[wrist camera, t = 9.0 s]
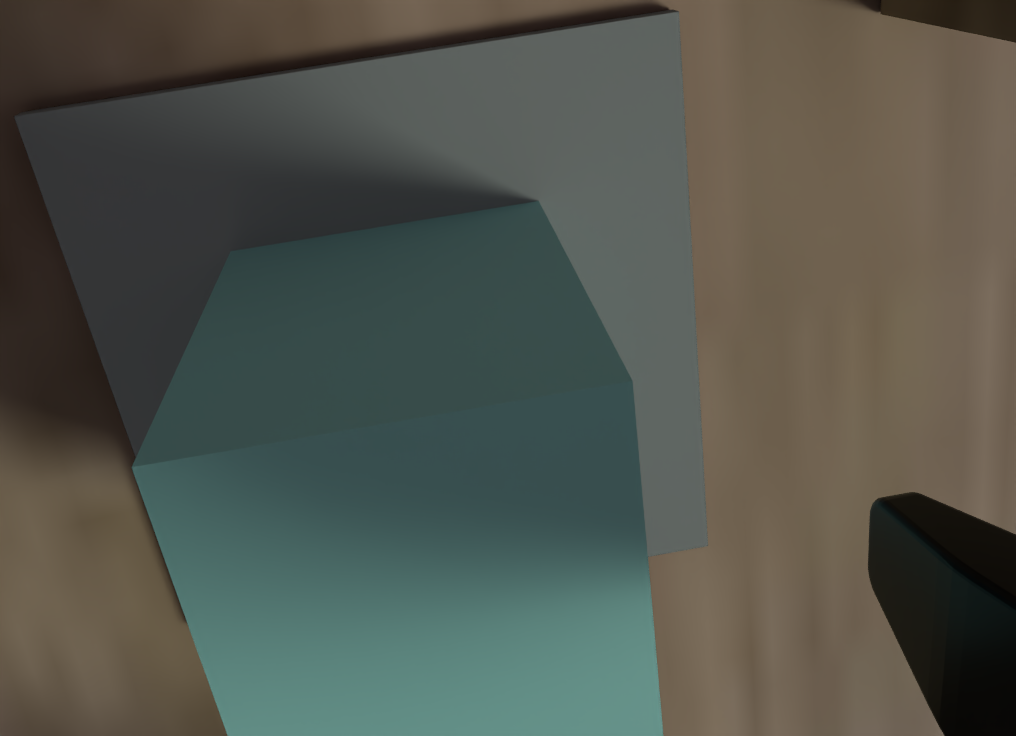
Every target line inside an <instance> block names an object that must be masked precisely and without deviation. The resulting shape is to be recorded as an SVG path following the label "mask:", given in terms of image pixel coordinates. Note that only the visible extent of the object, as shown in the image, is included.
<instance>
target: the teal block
mask: <svg viewBox="0 0 1016 736" xmlns="http://www.w3.org/2000/svg"><path fill="white" fill-rule="evenodd" d="M132 470H133V473H134V476H135V479H136V481H137V484H138V487H139V490H140V493H141V495H142V498H143V501H144V504H145V506H146V509H147V512H148V515H149V518H150V520H151V523H152V526H153V529H154V532H155V534H156V537H157V540H158V543H159V545H160V548H161V551H162V554H163V557H164V559H165V562H166V565H167V568H168V571H169V573H170V576H171V579H172V582H173V585H174V587H175V590H176V593H177V596H178V598H179V601H180V604H181V607H182V610H183V612H184V615H185V618H186V621H187V624H188V626H189V629H190V632H191V635H192V637H193V640H194V643H195V646H196V649H197V651H198V654H199V657H200V660H201V663H202V665H203V668H204V671H205V674H206V676H207V679H208V682H209V685H210V688H211V690H212V693H213V696H214V699H215V702H216V704H217V707H218V710H219V713H220V715H221V718H222V721H223V724H224V727H225V729H226V732H227V735H228V736H663V727H662V715H661V703H660V692H659V680H658V669H657V657H656V646H655V634H654V623H653V611H652V600H651V588H650V577H649V565H648V553H647V542H646V530H645V519H644V507H643V496H642V484H641V473H640V461H639V450H638V438H637V426H636V415H635V403H634V392H633V381H632V379H631V377H630V375H629V373H628V371H627V369H626V367H625V365H624V364H623V362H622V360H621V358H620V356H619V354H618V352H617V350H616V348H615V346H614V344H613V342H612V341H611V339H610V337H609V335H608V333H607V331H606V329H605V327H604V325H603V323H602V321H601V319H600V318H599V316H598V314H597V312H596V310H595V308H594V306H593V304H592V302H591V300H590V298H589V296H588V294H587V293H586V291H585V289H584V287H583V285H582V283H581V281H580V279H579V277H578V275H577V273H576V271H575V270H574V268H573V266H572V264H571V262H570V260H569V258H568V256H567V254H566V252H565V250H564V248H563V247H562V245H561V243H560V241H559V239H558V237H557V235H556V233H555V231H554V229H553V227H552V225H551V223H550V222H549V220H548V218H547V216H546V214H545V212H544V210H543V208H542V206H541V204H540V202H539V201H535V202H529V203H523V204H517V205H511V206H504V207H498V208H492V209H486V210H480V211H474V212H468V213H462V214H456V215H449V216H443V217H437V218H431V219H425V220H419V221H413V222H407V223H401V224H394V225H388V226H382V227H376V228H370V229H364V230H358V231H352V232H346V233H339V234H333V235H327V236H321V237H315V238H309V239H303V240H297V241H291V242H284V243H278V244H272V245H266V246H260V247H254V248H248V249H242V250H236V251H231V252H230V254H229V256H228V258H227V260H226V262H225V265H224V267H223V269H222V271H221V273H220V276H219V278H218V280H217V282H216V284H215V286H214V289H213V291H212V293H211V295H210V297H209V300H208V302H207V304H206V306H205V308H204V310H203V313H202V315H201V317H200V319H199V321H198V324H197V326H196V328H195V330H194V332H193V334H192V337H191V339H190V341H189V343H188V345H187V347H186V350H185V352H184V354H183V356H182V358H181V361H180V363H179V365H178V367H177V369H176V371H175V374H174V376H173V378H172V380H171V382H170V385H169V387H168V389H167V391H166V393H165V395H164V398H163V400H162V402H161V404H160V406H159V409H158V411H157V413H156V415H155V417H154V419H153V422H152V424H151V426H150V428H149V430H148V432H147V435H146V437H145V439H144V441H143V443H142V446H141V448H140V450H139V452H138V454H137V456H136V459H135V461H134V463H133V465H132Z"/></svg>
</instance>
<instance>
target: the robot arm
mask: <svg viewBox="0 0 1016 736" xmlns="http://www.w3.org/2000/svg"><path fill="white" fill-rule="evenodd" d="M868 571H869V578H870V582H871V585H872V588H873V591H874V593H875V595H876V597H877V599H878V601H879V603H880V605H881V608H882V610H883V612H884V614H885V616H886V618H887V620H888V622H889V624H890V626H891V628H892V631H893V633H894V635H895V637H896V639H897V641H898V643H899V645H900V647H901V649H902V651H903V654H904V656H905V658H906V660H907V662H908V664H909V666H910V668H911V670H912V672H913V674H914V677H915V679H916V681H917V683H918V685H919V687H920V689H921V691H922V693H923V695H924V697H925V699H926V702H927V704H928V706H929V708H930V710H931V711H932V713H933V715H934V717H935V719H936V721H937V723H938V725H939V727H940V729H941V730H942V732H943V734H944V735H945V736H1016V534H1013V533H1011V532H1009V531H1006V530H1004V529H1002V528H999V527H997V526H995V525H992V524H990V523H988V522H985V521H983V520H981V519H978V518H976V517H974V516H971V515H969V514H967V513H964V512H962V511H960V510H957V509H955V508H953V507H950V506H948V505H946V504H943V503H941V502H939V501H936V500H934V499H932V498H929V497H927V496H925V495H922V494H919V493H915V492H909V493H903V494H898V495H892V496H887V497H881V498H878V499H877V500H876V501H875V502H874V503H873V504H872V507H871V510H870V526H869V552H868Z"/></svg>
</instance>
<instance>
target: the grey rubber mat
mask: <svg viewBox="0 0 1016 736" xmlns="http://www.w3.org/2000/svg"><path fill="white" fill-rule="evenodd" d="M14 118H15V121H16V123H17V126H18V129H19V132H20V135H21V138H22V140H23V143H24V146H25V149H26V152H27V154H28V157H29V160H30V163H31V166H32V168H33V171H34V174H35V177H36V180H37V182H38V185H39V188H40V191H41V194H42V196H43V199H44V202H45V205H46V208H47V210H48V213H49V216H50V219H51V222H52V224H53V227H54V230H55V233H56V236H57V238H58V241H59V244H60V247H61V250H62V252H63V255H64V258H65V261H66V264H67V266H68V269H69V272H70V275H71V278H72V280H73V283H74V286H75V289H76V292H77V294H78V297H79V300H80V303H81V306H82V308H83V311H84V314H85V317H86V320H87V322H88V325H89V328H90V331H91V334H92V337H93V339H94V342H95V345H96V348H97V351H98V353H99V356H100V359H101V362H102V365H103V367H104V370H105V373H106V376H107V379H108V381H109V384H110V387H111V390H112V393H113V395H114V398H115V401H116V404H117V407H118V409H119V412H120V415H121V418H122V421H123V423H124V426H125V429H126V432H127V435H128V437H129V440H130V443H131V446H132V449H133V451H134V454H135V457H136V456H137V454H138V452H139V450H140V448H141V446H142V443H143V441H144V439H145V437H146V435H147V432H148V430H149V428H150V426H151V424H152V422H153V419H154V417H155V415H156V413H157V411H158V409H159V406H160V404H161V402H162V400H163V398H164V395H165V393H166V391H167V389H168V387H169V385H170V382H171V380H172V378H173V376H174V374H175V371H176V369H177V367H178V365H179V363H180V361H181V358H182V356H183V354H184V352H185V350H186V347H187V345H188V343H189V341H190V339H191V337H192V334H193V332H194V330H195V328H196V326H197V324H198V321H199V319H200V317H201V315H202V313H203V310H204V308H205V306H206V304H207V302H208V300H209V297H210V295H211V293H212V291H213V289H214V286H215V284H216V282H217V280H218V278H219V276H220V273H221V271H222V269H223V267H224V265H225V262H226V260H227V258H228V256H229V254H230V252H231V251H236V250H242V249H248V248H254V247H260V246H266V245H272V244H278V243H284V242H291V241H297V240H303V239H309V238H315V237H321V236H327V235H333V234H339V233H346V232H352V231H358V230H364V229H370V228H376V227H382V226H388V225H394V224H401V223H407V222H413V221H419V220H425V219H431V218H437V217H443V216H449V215H456V214H462V213H468V212H474V211H480V210H486V209H492V208H498V207H504V206H511V205H517V204H523V203H529V202H535V201H539V202H540V204H541V206H542V208H543V210H544V212H545V214H546V216H547V218H548V220H549V222H550V223H551V225H552V227H553V229H554V231H555V233H556V235H557V237H558V239H559V241H560V243H561V245H562V247H563V248H564V250H565V252H566V254H567V256H568V258H569V260H570V262H571V264H572V266H573V268H574V270H575V271H576V273H577V275H578V277H579V279H580V281H581V283H582V285H583V287H584V289H585V291H586V293H587V294H588V296H589V298H590V300H591V302H592V304H593V306H594V308H595V310H596V312H597V314H598V316H599V318H600V319H601V321H602V323H603V325H604V327H605V329H606V331H607V333H608V335H609V337H610V339H611V341H612V342H613V344H614V346H615V348H616V350H617V352H618V354H619V356H620V358H621V360H622V362H623V364H624V365H625V367H626V369H627V371H628V373H629V375H630V377H631V379H632V381H633V392H634V403H635V415H636V426H637V438H638V450H639V461H640V473H641V484H642V496H643V507H644V519H645V530H646V542H647V553H648V557H649V556H655V555H660V554H666V553H671V552H677V551H682V550H688V549H693V548H699V547H704V546H708V539H707V520H706V502H705V483H704V465H703V447H702V428H701V410H700V392H699V373H698V355H697V336H696V318H695V300H694V281H693V263H692V245H691V226H690V208H689V189H688V171H687V153H686V134H685V116H684V98H683V79H682V61H681V42H680V24H679V11H676V10H667V11H661V12H654V13H648V14H642V15H635V16H629V17H623V18H616V19H610V20H604V21H597V22H591V23H585V24H578V25H572V26H565V27H559V28H553V29H546V30H540V31H534V32H527V33H521V34H515V35H508V36H502V37H496V38H489V39H483V40H477V41H470V42H464V43H458V44H451V45H445V46H439V47H432V48H426V49H420V50H413V51H407V52H400V53H394V54H388V55H381V56H375V57H369V58H362V59H356V60H350V61H343V62H337V63H331V64H324V65H318V66H312V67H305V68H299V69H293V70H286V71H280V72H274V73H267V74H261V75H255V76H248V77H242V78H236V79H229V80H223V81H216V82H210V83H204V84H197V85H191V86H185V87H178V88H172V89H166V90H159V91H153V92H147V93H140V94H134V95H128V96H121V97H115V98H109V99H102V100H96V101H90V102H83V103H77V104H71V105H64V106H58V107H51V108H45V109H39V110H32V111H26V112H21V113H19V114H18V115H16V116H14Z"/></svg>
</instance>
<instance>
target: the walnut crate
mask: <svg viewBox="0 0 1016 736" xmlns="http://www.w3.org/2000/svg"><path fill="white" fill-rule="evenodd" d="M881 14H883V15H888V16H892V17H897V18H902V19H907V20H911V21H916V22H921V23H926V24H930V25H935V26H940V27H945V28H949V29H954V30H959V31H964V32H968V33H973V34H978V35H983V36H987V37H992V38H997V39H1002V40H1006V41H1011V42H1016V0H881Z"/></svg>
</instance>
